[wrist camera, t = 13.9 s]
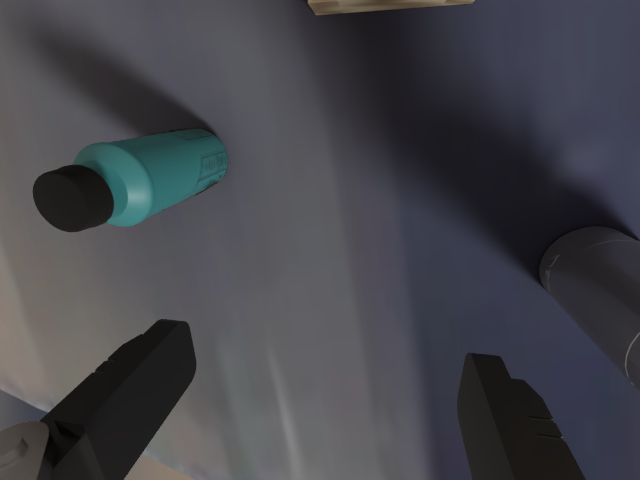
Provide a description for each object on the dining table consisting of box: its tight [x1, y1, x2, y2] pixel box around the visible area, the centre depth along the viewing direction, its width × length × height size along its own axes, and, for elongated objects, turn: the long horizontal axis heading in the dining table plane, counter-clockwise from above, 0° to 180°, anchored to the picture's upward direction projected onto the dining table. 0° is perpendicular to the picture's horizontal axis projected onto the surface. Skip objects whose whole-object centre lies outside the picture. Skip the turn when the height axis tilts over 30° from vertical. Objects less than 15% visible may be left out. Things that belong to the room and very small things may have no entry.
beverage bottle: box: [33, 127, 228, 232], centre depth 29 cm, size 6×7×20 cm
